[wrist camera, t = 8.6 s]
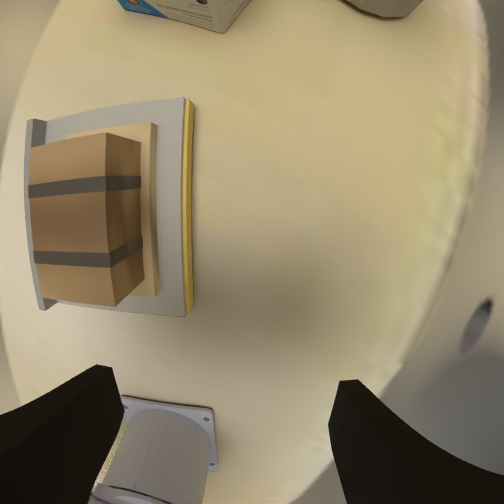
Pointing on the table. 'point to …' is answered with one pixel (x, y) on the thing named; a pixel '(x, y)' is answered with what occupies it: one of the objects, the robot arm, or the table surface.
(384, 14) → the water bottle
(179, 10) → the ink box
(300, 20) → the table surface
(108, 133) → the cardboard box
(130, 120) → the dock
